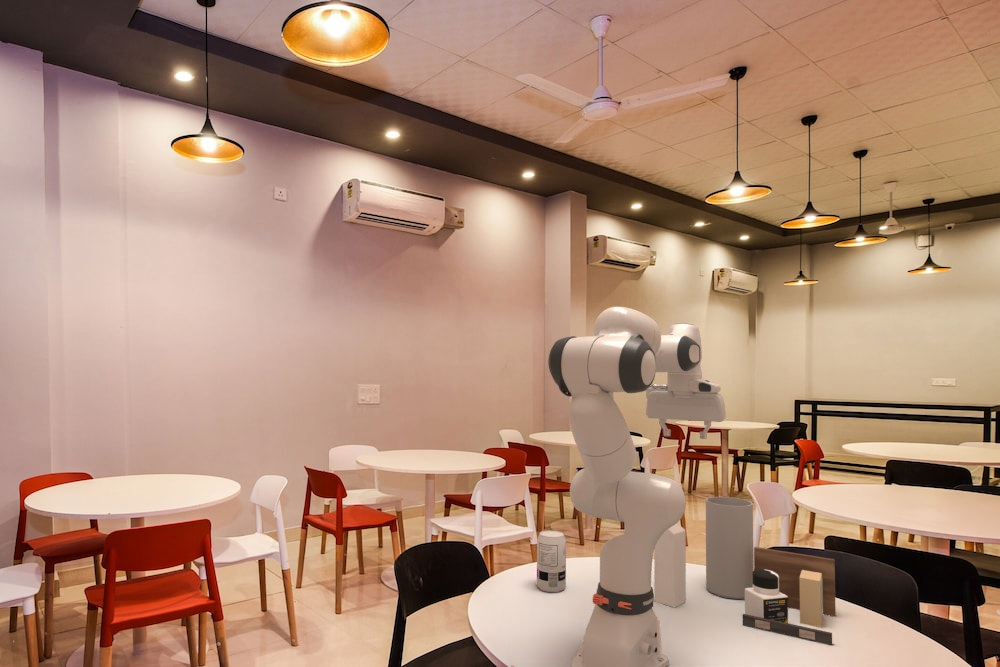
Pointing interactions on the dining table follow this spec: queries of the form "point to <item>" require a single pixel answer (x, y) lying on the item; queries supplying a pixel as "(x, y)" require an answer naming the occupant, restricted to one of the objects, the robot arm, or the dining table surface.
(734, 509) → the cylinder vase
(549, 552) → the supplement can
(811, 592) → the carton
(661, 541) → the milk
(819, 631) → the brown flat boards
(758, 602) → the medicine bottle
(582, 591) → the dining table surface
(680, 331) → the robot arm
